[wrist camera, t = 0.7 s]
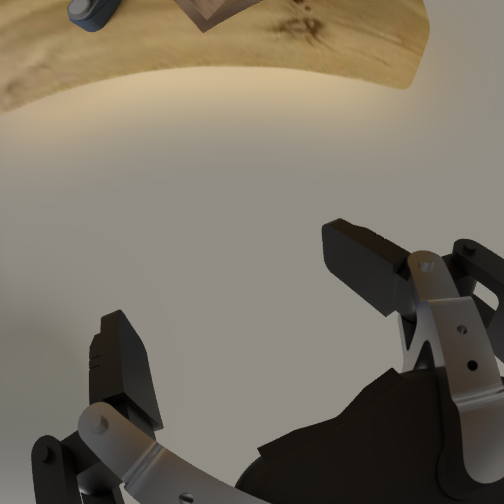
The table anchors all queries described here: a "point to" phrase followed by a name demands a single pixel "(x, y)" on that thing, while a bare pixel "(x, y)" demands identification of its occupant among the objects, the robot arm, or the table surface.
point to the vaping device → (91, 13)
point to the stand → (212, 10)
